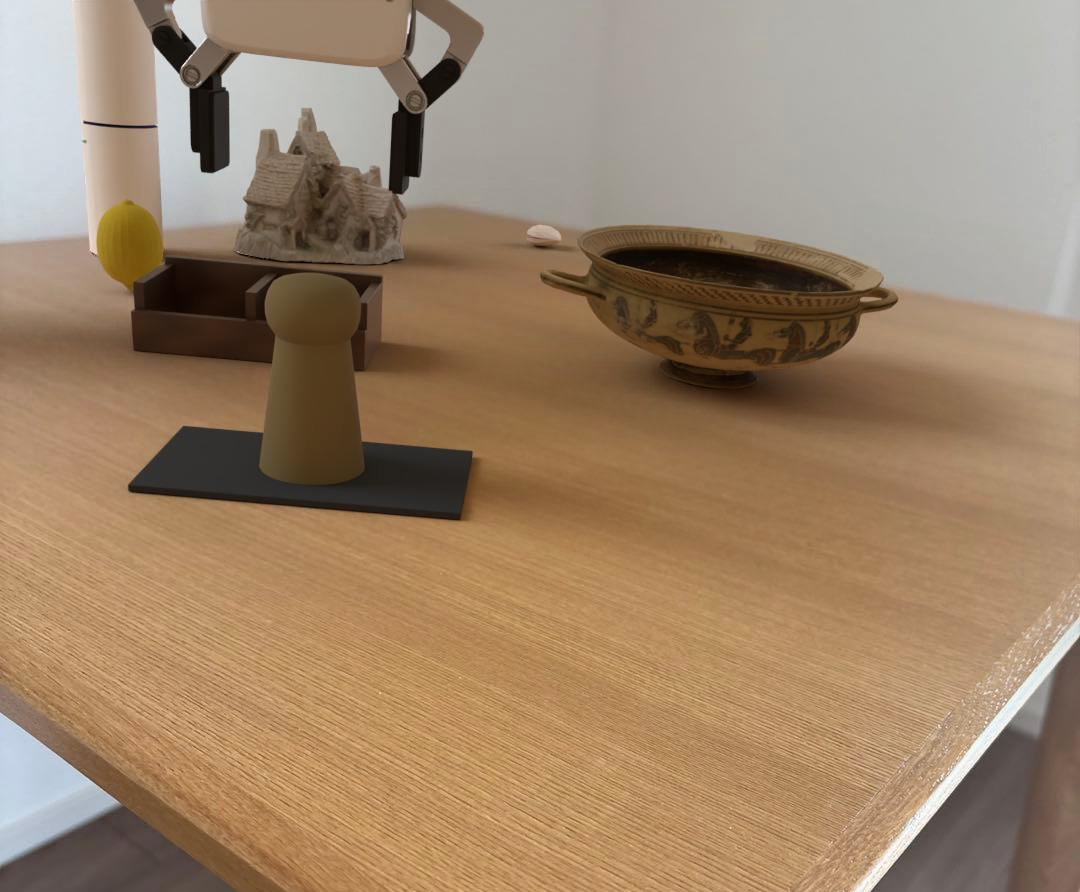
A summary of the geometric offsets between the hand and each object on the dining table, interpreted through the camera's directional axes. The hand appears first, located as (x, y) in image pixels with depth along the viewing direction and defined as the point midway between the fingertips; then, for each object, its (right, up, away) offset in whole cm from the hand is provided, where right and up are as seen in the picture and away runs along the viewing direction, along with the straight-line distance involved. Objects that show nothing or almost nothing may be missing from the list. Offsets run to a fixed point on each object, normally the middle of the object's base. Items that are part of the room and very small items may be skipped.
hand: (307, 180), depth 59 cm
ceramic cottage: (-12, +13, +66) cm, 68 cm away
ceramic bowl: (+26, -5, +34) cm, 43 cm away
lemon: (-25, +3, +42) cm, 49 cm away
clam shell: (+13, +18, +82) cm, 85 cm away
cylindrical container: (-30, +10, +57) cm, 65 cm away
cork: (-1, -15, +7) cm, 16 cm away
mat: (-1, -15, +7) cm, 16 cm away
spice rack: (-10, -3, +30) cm, 32 cm away
